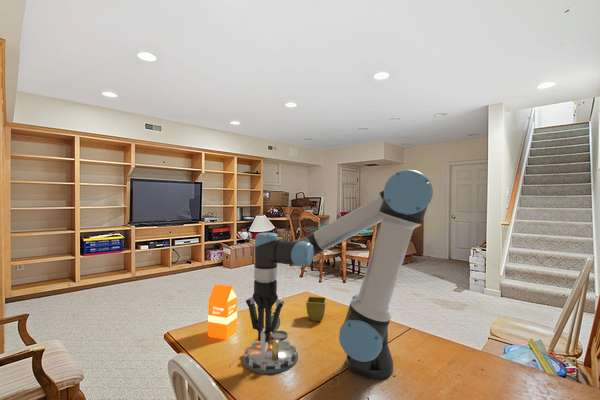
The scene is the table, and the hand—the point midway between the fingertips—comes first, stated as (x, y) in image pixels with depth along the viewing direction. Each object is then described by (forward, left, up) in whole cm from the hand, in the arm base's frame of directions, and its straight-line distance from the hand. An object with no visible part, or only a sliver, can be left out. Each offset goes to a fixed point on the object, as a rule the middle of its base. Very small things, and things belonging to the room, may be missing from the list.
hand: (263, 350), depth 95 cm
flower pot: (+13, -42, -5) cm, 44 cm away
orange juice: (+30, -3, -5) cm, 30 cm away
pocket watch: (+13, -18, -5) cm, 22 cm away
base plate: (+2, -5, -5) cm, 7 cm away
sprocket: (+2, -5, -5) cm, 7 cm away
